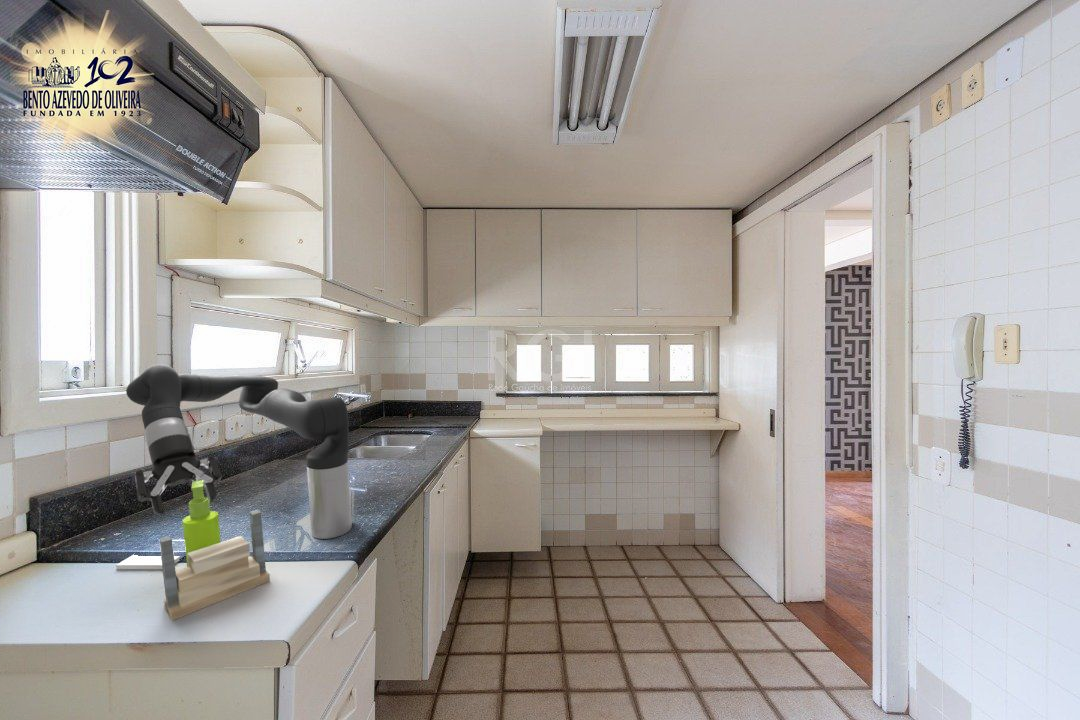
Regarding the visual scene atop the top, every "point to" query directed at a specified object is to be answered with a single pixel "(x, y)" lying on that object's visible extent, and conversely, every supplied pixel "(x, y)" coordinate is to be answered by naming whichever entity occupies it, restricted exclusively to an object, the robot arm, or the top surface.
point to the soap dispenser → (200, 522)
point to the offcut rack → (213, 571)
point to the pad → (144, 562)
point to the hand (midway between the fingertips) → (187, 507)
